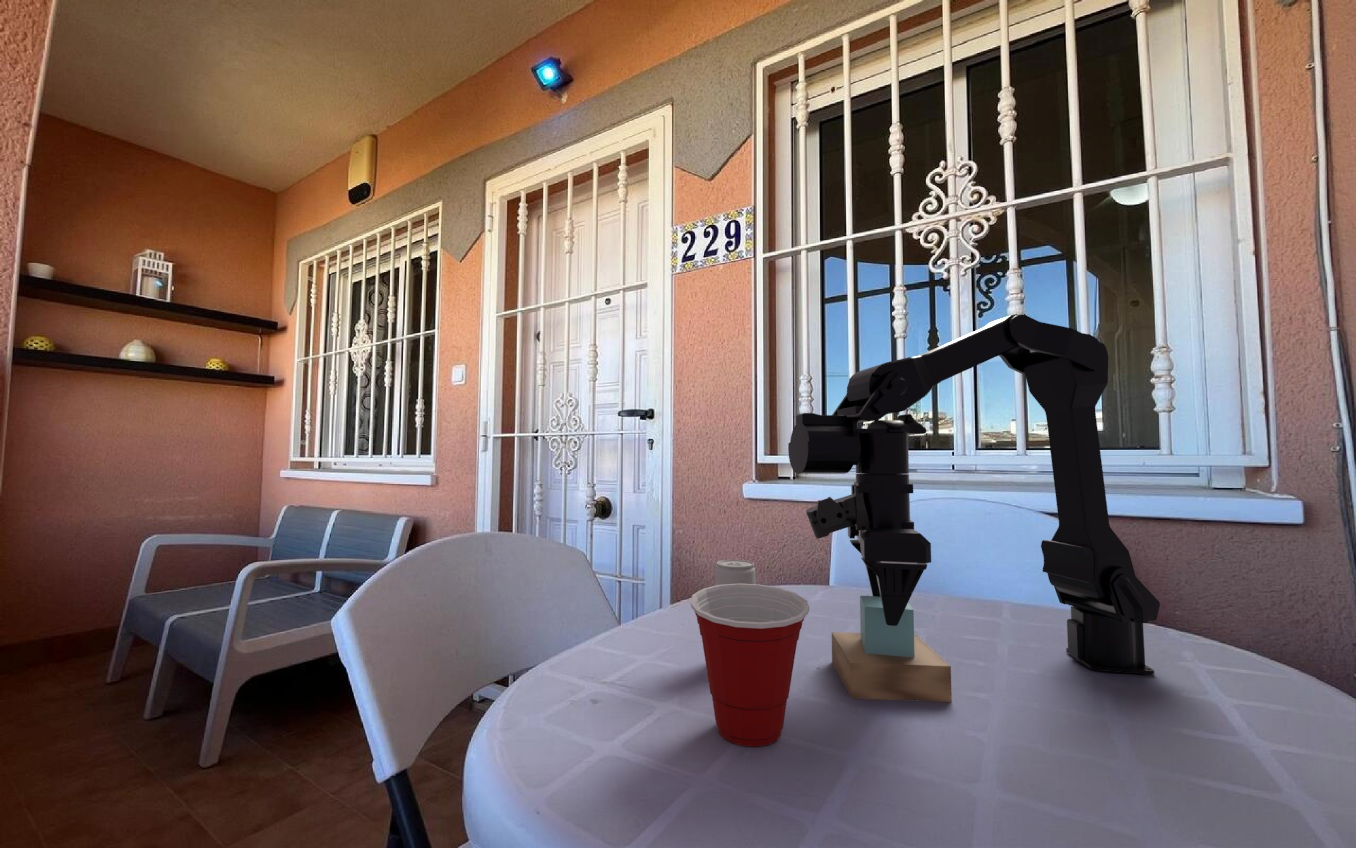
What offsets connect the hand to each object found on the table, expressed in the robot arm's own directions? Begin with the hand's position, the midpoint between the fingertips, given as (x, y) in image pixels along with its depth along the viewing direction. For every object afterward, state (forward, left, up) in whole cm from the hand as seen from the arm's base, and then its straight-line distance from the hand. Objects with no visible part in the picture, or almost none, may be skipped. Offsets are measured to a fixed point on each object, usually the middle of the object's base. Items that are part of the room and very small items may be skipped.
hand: (884, 613), depth 61 cm
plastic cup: (+14, +15, -8) cm, 22 cm away
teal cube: (0, 0, -4) cm, 4 cm away
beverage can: (+17, -1, -8) cm, 19 cm away
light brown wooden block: (0, 0, -8) cm, 8 cm away
